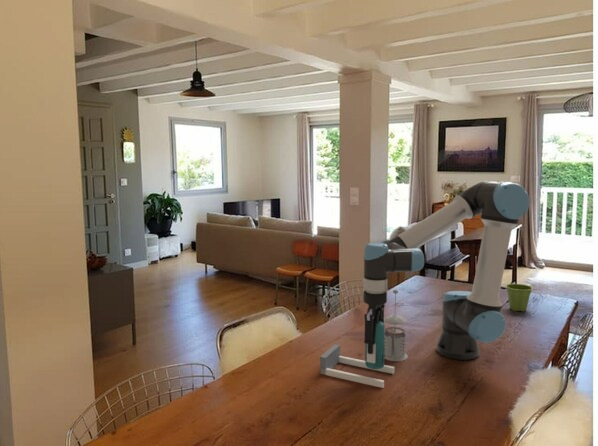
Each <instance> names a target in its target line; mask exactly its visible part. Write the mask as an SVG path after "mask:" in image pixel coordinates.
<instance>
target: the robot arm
mask: <svg viewBox="0 0 598 446" xmlns="http://www.w3.org/2000/svg"><path fill="white" fill-rule="evenodd" d="M529 208H530V196H529V193H528V192H527V191H526V189H525V187H524V186H522V185H520V184H519V183H516V182H511V181H499V180H497V181H495V180H484V181H481V182H478V183H476V184H474V185H472V186H470V187H469V188H467V189H465V190H464V191H461V192H460V193H459V194H457V195H456V196H454V198H453V201H451V202H450V203H448V204H446V205H444V206H443V207H441V208H440V209H438V210H436V212H434V213H431V214H430V215H428V216H427V217H426V218H424V219H422V220H421V221H419V222H417V223H416V224H414V225H413V226H411V227H409V228H408V229H406V230H404V231H403V232H402V233H400V234H399V235H397V236H395V237H393V238H391V239H390V240H389V239H385V240H382V241H379V242H370V243H369V242H368V243H366V244H365V246H364V252H363V279H362V280H361V281H362V283H363V290H364V291H363V300H362V301H363V302H364V304H367V305H368V308H367V309H366V310H367V311H366V313H364V341H363V342H364V343H363V344H365V343H366V344H367V362H370V363H375V357H376V343H375V334H376V324H377V323H378V321H381V322H382V323H383V324H384V325H385V321H384V318H385V307H386V305H385V304H386V303H387V302H388V292H387V291H388V274H389V273H406V272H410V273H411V272H412V273H413V272H417V271H421V270H422V269H423V268H424V266H425V254H424V253H423V251H422V250H421V248H420V247H422V246H423V245H425V244H427V243H428V242H430V241H432V240H433V239H435V238H437V237H438V236H440V235H441V234H443V233H444V232H446V231H448V230H449V229H451V228H453V227H454V226H456V225H457V224H459V223H461V222H462V221H464V220H466V219H467V220H471V219H472V218H474V217H476V216H478V215H480V220H481V222H482V224H483V232H482V237H481V241H480V248H479V254H478V258H477V264H476V268H475V275H474V280H473V283H472V291H466V290H452V291H451V290H449V291H447V292H445V293H444V294H443V297H442V318H441V319H442V321H441V323H442V326H441V331H440V334H439V337H438V340H437V342H436V352H438V354H439V355H442V356H443V357H445V358H449V359H452V360H458V361H459V360H460V361H467V360H474V359H476V358H478V357H479V355H480V348H479V343H478V342H481V343H484V344H489V343H493V342H495V341H496V340H497V339H500V338H501V337H502V336H503V335H504V332H505V330H506V326H507V321H506V319H505V317H504V315H503V314H502V309H503V303H502V301H501V300H500V299H499V298H500V292H501V286H502V283H503V279H504V278H503V276H504V272H505V266H506V261H507V258H508V257H507V256H508V250H509V247H510V246H509V245H510V240H511V235H512V229H514V228H516V227H517V226H518V225H519V221H520V218H523V217H524V215H525V214H526V213H527V212H528V211H529ZM380 312H381V319H379V315H380Z"/></svg>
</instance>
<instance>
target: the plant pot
mask: <svg viewBox="0 0 598 446" xmlns="http://www.w3.org/2000/svg"><path fill="white" fill-rule="evenodd" d="M505 287H506V291H507V296H508V303H509V309H510V310H511V311H515V312H519V311H520V312H526V311H527V308H528V304H529V300H530V296H531V292H532V291H533V290H534V288H533V287H532V286H530V285H528V284H523V283H522V284H521V283H507V284H505Z"/></svg>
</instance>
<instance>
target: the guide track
mask: <svg viewBox="0 0 598 446" xmlns="http://www.w3.org/2000/svg"><path fill="white" fill-rule="evenodd" d="M319 361H320V362H319V365H320V366H319V369H320V370H319V374H320V375H325V376H327V377H328V376H329V377H334V378H337V379H342V380H345V381H346V380H347V381H351V382H355V383H358V384H364V385H367V386H373V387H377V388H382V389H383V388H384V387H385V380H383V379H380V378H374V377H371V376H367V375H361V374H356V373H352V372H347V371H343V370H338V369H333V368H335V367H336V365H338V364H344V365H349V366H354V367H359V368H362V369H369V370H372V371H377V372H382V373H388V374H392V375H394V373H395V366H391V365H386V364H385V365H384V367H383V368H381V369H371V368H368V367H367V366H366V364H365V360H364V359H362V360H361V359H359V358H358V359H357V358H353V357H349V356H348V357H347V356H343V355H341V345H340V344H336V343H335V344H333V345H332V346H331V347H330V348H328V349H327V350H326V351H325V352H324V353H323V354H321V356H320V357H319Z"/></svg>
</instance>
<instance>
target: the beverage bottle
mask: <svg viewBox="0 0 598 446" xmlns="http://www.w3.org/2000/svg"><path fill="white" fill-rule="evenodd" d="M379 319H381V312H380V315H379ZM384 333H385V323H384V324H383V323H382V322H381V321H378V323H377V324H376V334H375V343H376V357H375V363H370V362H367V344H366V343H364V346H365V347H364V359H365V360H364V361H365V364H366V366H367V367H368V368H371V369H370V370H372V369H381V368H383V367H384V365H386V364H385V363H386V362H385V361H386V359H385V356H384V350H385V349H384V343H385V342H384V337H385V336H384ZM368 368H367V369H368Z"/></svg>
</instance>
